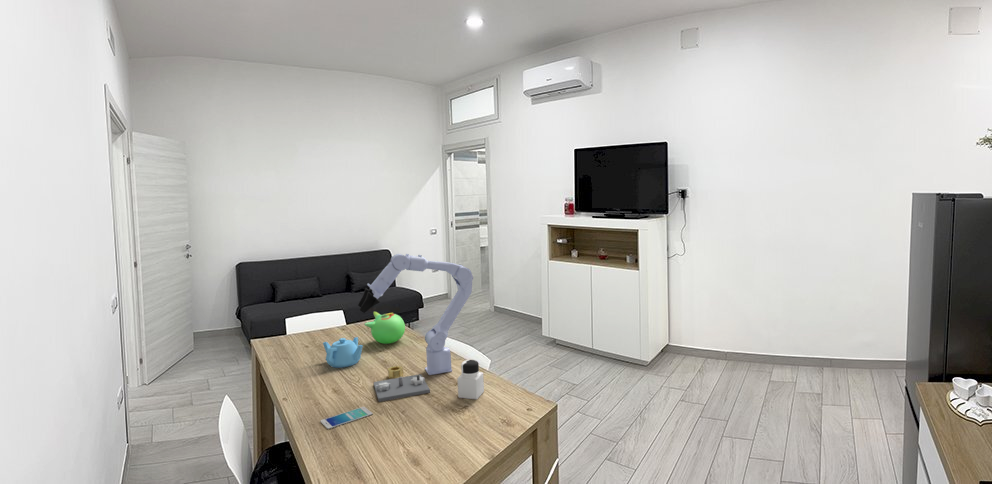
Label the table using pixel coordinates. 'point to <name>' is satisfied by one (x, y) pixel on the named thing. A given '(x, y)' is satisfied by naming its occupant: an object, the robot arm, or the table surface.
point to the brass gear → (395, 372)
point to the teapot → (343, 353)
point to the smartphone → (346, 417)
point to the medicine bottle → (470, 380)
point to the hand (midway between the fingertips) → (360, 309)
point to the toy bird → (386, 328)
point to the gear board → (401, 387)
